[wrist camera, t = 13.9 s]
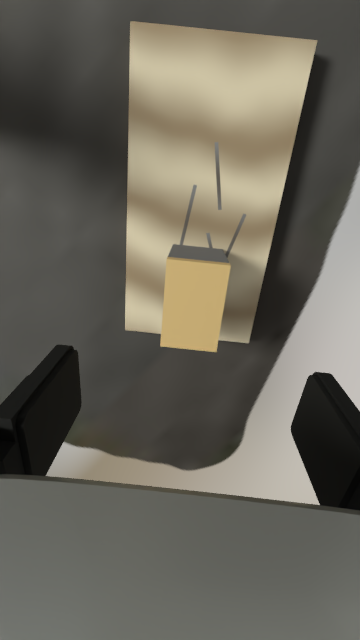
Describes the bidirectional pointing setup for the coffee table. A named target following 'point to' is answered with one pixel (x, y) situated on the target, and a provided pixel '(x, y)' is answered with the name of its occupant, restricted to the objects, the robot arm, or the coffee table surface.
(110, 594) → the robot arm
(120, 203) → the coffee table surface
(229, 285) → the board
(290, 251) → the coffee table surface
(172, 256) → the block
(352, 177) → the coffee table surface
